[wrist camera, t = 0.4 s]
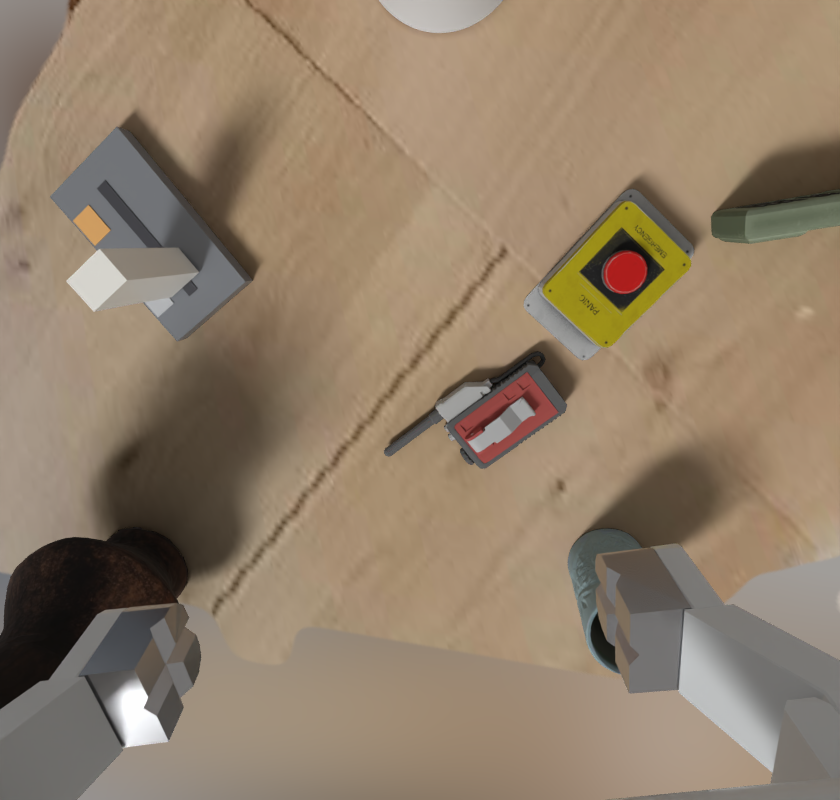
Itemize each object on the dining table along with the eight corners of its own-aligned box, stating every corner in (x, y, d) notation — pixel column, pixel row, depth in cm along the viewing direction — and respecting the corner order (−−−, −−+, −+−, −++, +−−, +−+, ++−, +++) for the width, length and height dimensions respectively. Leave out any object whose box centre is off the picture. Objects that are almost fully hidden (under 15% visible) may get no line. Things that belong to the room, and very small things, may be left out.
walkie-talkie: (526, 332, 55) (380, 442, 60) (532, 339, 51) (374, 457, 55) (575, 396, 57) (429, 499, 61) (585, 408, 52) (427, 518, 57)
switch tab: (199, 272, 53) (127, 280, 41) (171, 297, 54) (93, 311, 42) (178, 247, 52) (99, 248, 41) (151, 273, 53) (66, 281, 42)
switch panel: (252, 280, 55) (244, 281, 53) (186, 338, 57) (176, 341, 55) (129, 130, 52) (116, 126, 50) (64, 198, 54) (49, 196, 52)
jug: (173, 475, 62) (-72, 673, 33) (245, 602, 67) (82, 874, 38) (29, 529, 66) (-303, 750, 37) (106, 646, 70) (-138, 925, 41)
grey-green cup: (583, 510, 60) (613, 574, 48) (667, 538, 60) (716, 608, 48) (548, 582, 63) (569, 659, 51) (628, 609, 63) (666, 691, 51)
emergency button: (716, 251, 47) (593, 372, 51) (696, 251, 52) (582, 363, 56) (645, 179, 46) (523, 308, 50) (629, 184, 50) (518, 303, 54)
